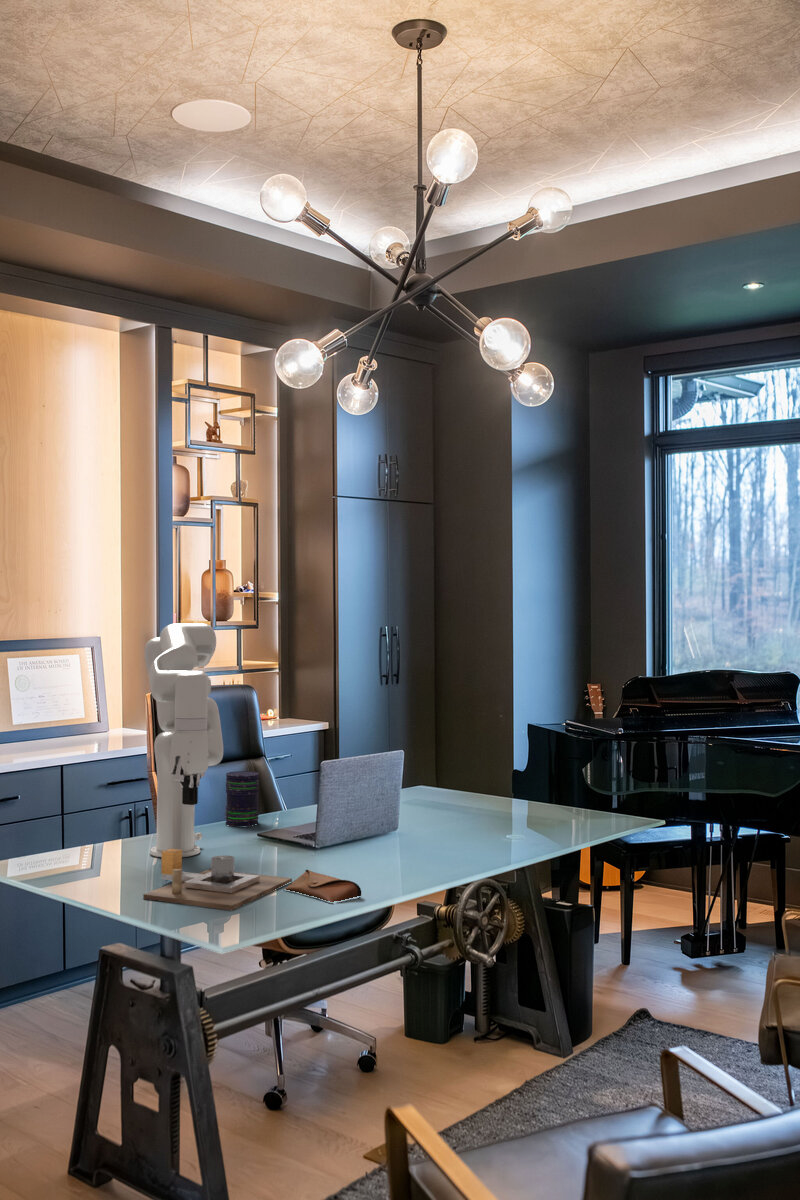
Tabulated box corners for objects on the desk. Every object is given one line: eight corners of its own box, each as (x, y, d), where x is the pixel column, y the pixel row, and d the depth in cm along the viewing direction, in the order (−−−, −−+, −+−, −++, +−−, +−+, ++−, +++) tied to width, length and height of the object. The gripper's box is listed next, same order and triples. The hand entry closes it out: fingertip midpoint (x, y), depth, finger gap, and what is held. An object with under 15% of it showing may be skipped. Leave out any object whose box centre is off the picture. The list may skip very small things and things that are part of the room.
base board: (209, 873, 251) (209, 869, 252) (291, 882, 243) (291, 878, 243) (143, 898, 227) (143, 894, 228) (231, 910, 219) (231, 905, 219)
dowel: (175, 891, 230) (175, 868, 230) (183, 892, 229) (183, 869, 229) (170, 893, 228) (170, 870, 228) (178, 894, 227) (178, 871, 227)
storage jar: (228, 820, 319) (229, 770, 319) (261, 821, 319) (261, 771, 319) (221, 827, 309) (222, 775, 309) (255, 827, 309) (256, 776, 309)
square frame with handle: (259, 880, 239) (259, 853, 240) (231, 893, 228) (231, 864, 229) (181, 871, 248) (181, 845, 248) (150, 883, 236) (150, 855, 237)
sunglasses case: (278, 889, 236) (290, 861, 239) (298, 900, 241) (310, 872, 243) (334, 904, 224) (345, 874, 227) (354, 916, 228) (365, 886, 231)
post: (218, 881, 239) (219, 854, 240) (238, 883, 238) (238, 856, 238) (206, 886, 235) (207, 859, 235) (226, 888, 233) (226, 861, 233)
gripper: (195, 722, 257) (194, 798, 256) (158, 727, 243) (157, 807, 243) (221, 723, 254) (220, 800, 254) (186, 728, 240) (185, 810, 240)
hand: (189, 804), depth 248 cm, fingers closed
